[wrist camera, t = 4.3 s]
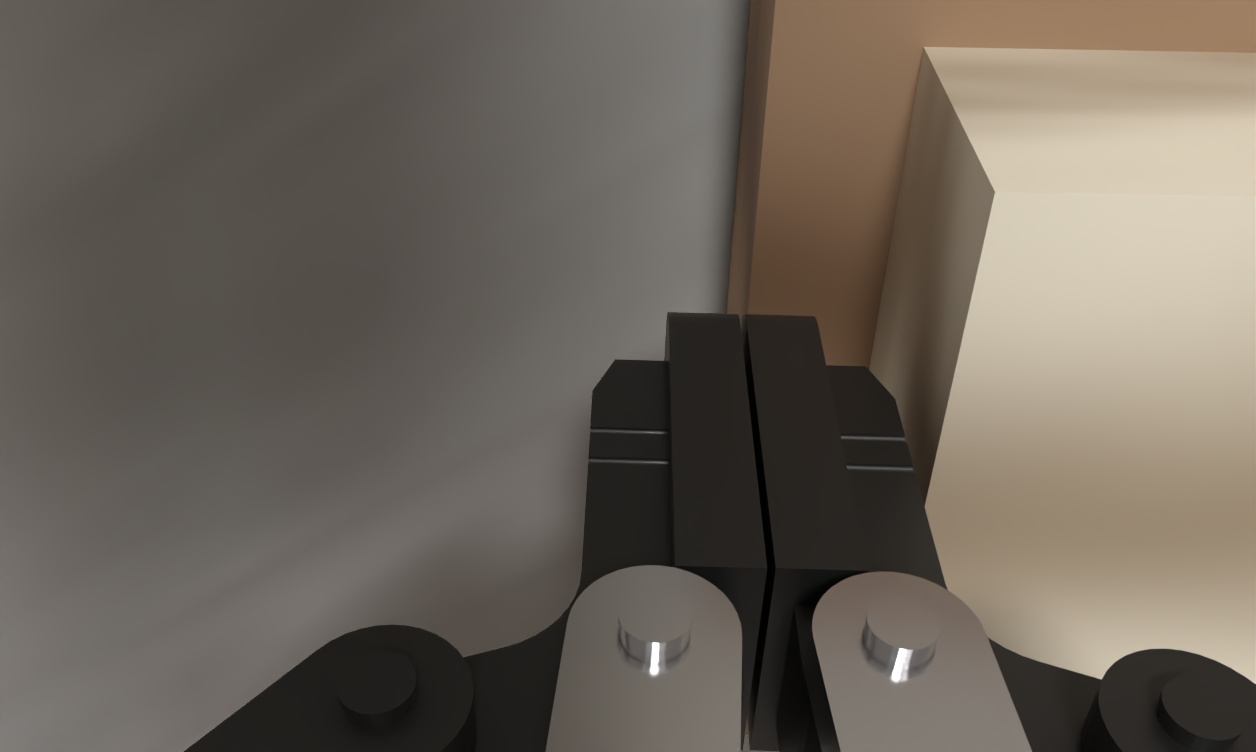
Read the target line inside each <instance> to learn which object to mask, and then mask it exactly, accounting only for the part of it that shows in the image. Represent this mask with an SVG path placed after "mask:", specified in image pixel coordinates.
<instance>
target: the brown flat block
mask: <svg viewBox="0 0 1256 752" xmlns="http://www.w3.org/2000/svg"><path fill="white" fill-rule="evenodd" d="M924 47H958V48H1014V49H1070V50H1125V51H1181V52H1237V53H1256V0H750V13H749V26H748V39H747V53H746V66H745V79H744V92H743V105H742V118H741V131H740V144H739V157H738V170H737V183H736V196H735V210H734V223H733V236H732V249H731V262H730V275H729V288H728V301H727V314H738V315H739V318H740V326H741V320H742V316H743V314H758V315H794V316H815V317H816V320H817V323H818V327H819V332H820V337H821V342H822V347H823V352H824V357H825V361H826V365H834V366H866V367H867V368H868V369H869V367H870V361H871V355H872V350H873V344H874V338H875V332H876V326H877V320H878V314H879V308H880V302H881V296H882V290H883V285H884V279H885V273H886V267H887V261H888V255H889V249H890V243H891V237H892V231H893V225H894V220H895V214H896V208H897V202H898V196H899V190H900V184H901V178H902V172H903V166H904V160H905V155H906V149H907V143H908V137H909V131H910V125H911V119H912V113H913V107H914V101H915V95H916V90H917V84H918V78H919V72H920V66H921V60H922V54H923V48H924ZM745 734H749V732H748V720H747V721H746V729H745Z"/></svg>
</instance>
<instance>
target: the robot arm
mask: <svg viewBox="0 0 1256 752" xmlns="http://www.w3.org/2000/svg"><path fill="white" fill-rule="evenodd" d="M747 720H748V732H749V744H750V750H763V751H779V752H1256V684H1255V683H1253V682H1252V681H1250V680H1249V679H1248V678H1246V677H1245V676H1243V675H1241V674H1240V673H1238V672H1236V671H1235V670H1233V669H1232V668H1230V667H1228V666H1226V665H1224V664H1222V663H1219V662H1217V661H1215V660H1213V659H1210V658H1207V657H1204V656H1202V655H1199V654H1195V653H1191V652H1187V651H1182V650H1174V649H1147V650H1141V651H1137V652H1134V653H1131V654H1128V655H1125V656H1124V657H1122V658H1121V659H1119V660H1117V661H1116V662H1115V663H1114V664H1113V665H1112V666H1111V667H1110V668H1109V669H1108V670H1107V671H1106V673H1105V675H1104V676H1103V678H1102V680H1101V679H1098V678H1095V677H1091V676H1088V675H1084V674H1081V673H1077V672H1074V671H1070V670H1067V669H1063V668H1060V667H1056V666H1053V665H1049V664H1046V663H1043V662H1039V661H1036V660H1033V659H1030V658H1027V657H1024V656H1022V655H1019V654H1017V653H1015V652H1013V651H1011V650H1009V649H1006V648H1005V647H1003V646H1001V645H1000V644H998V643H996V642H995V641H993V640H991V639H990V638H988V637H987V635H986V632H985V630H984V628H983V626H982V624H981V622H980V621H979V619H978V618H977V617H976V615H975V614H974V613H973V611H972V610H971V609H970V608H969V607H968V606H967V605H966V604H965V603H964V602H963V601H962V600H961V599H959V598H958V597H957V596H955V595H954V594H953V593H951V592H950V591H948V589H947V586H946V584H945V580H944V577H943V573H942V569H941V566H940V562H939V558H938V554H937V551H936V547H935V543H934V540H933V536H932V532H931V529H930V525H929V521H928V518H927V514H926V510H925V507H924V503H923V499H922V496H921V492H920V488H919V485H918V481H917V477H916V474H915V473H913V463H912V459H911V455H910V451H909V448H908V444H907V443H906V442H905V433H904V429H903V426H902V422H901V418H900V415H899V411H898V407H897V404H896V400H895V398H894V397H893V396H892V395H891V394H890V393H889V391H888V390H887V389H886V388H885V387H884V386H883V385H882V384H881V383H880V381H879V380H878V379H877V378H876V377H875V376H874V375H873V374H872V373H871V371H870V370H869V369H868V368H867V367H866V366H834V365H826V361H825V357H824V352H823V347H822V342H821V337H820V332H819V327H818V323H817V320H816V317H815V316H794V315H758V314H743V316H742V320H741V326H740V318H739V315H738V314H713V313H678V312H668V314H667V323H666V340H665V358H664V361H645V360H615V361H614V362H613V363H612V365H611V366H610V368H609V369H608V370H607V372H606V373H605V374H604V376H603V377H602V379H601V380H600V381H599V383H598V384H597V385H596V387H595V388H594V390H593V394H592V410H591V427H590V443H589V464H588V476H587V493H586V510H585V526H584V543H583V559H582V574H581V580H580V586H579V588H578V591H577V593H576V596H575V598H574V600H573V601H572V603H571V604H570V606H569V608H568V609H567V610H566V611H565V612H564V613H563V615H562V616H561V617H560V618H559V619H558V620H557V621H555V622H554V623H553V624H552V625H551V626H549V627H548V628H547V629H545V630H543V631H542V632H540V633H539V634H537V635H535V636H533V637H531V638H529V639H527V640H525V641H522V642H520V643H517V644H514V645H511V646H508V647H504V648H500V649H496V650H492V651H488V652H484V653H480V654H476V655H472V656H468V657H464V658H463V657H462V656H461V654H460V653H459V652H458V650H457V649H456V648H454V647H453V646H452V645H451V644H450V643H449V642H448V641H446V640H444V639H443V638H441V637H439V636H438V635H436V634H434V633H431V632H429V631H426V630H423V629H420V628H415V627H410V626H403V625H381V626H373V627H368V628H363V629H359V630H356V631H353V632H350V633H347V634H344V635H342V636H340V637H338V638H336V639H334V640H332V641H330V642H329V643H327V644H326V645H324V646H323V647H321V648H320V649H318V650H317V651H316V652H314V653H313V654H312V655H310V656H309V657H308V658H306V659H305V660H304V661H302V662H301V663H300V664H298V665H297V666H296V667H294V668H293V669H292V670H291V671H289V672H288V673H287V674H285V675H284V676H283V677H281V678H280V679H279V680H277V681H276V682H275V683H273V684H272V685H271V686H269V687H268V688H267V689H266V690H264V691H263V692H262V693H260V694H259V695H258V696H256V697H255V698H254V699H252V700H251V701H250V702H248V703H247V704H246V705H244V706H243V707H242V708H241V709H239V710H238V711H237V712H235V713H234V714H233V715H231V716H230V717H229V718H227V719H226V720H225V721H223V722H222V723H221V724H219V725H218V726H217V727H216V728H214V729H213V730H212V731H210V732H209V733H208V734H206V735H205V736H204V737H202V738H201V739H200V740H198V741H197V742H196V743H194V744H193V745H192V746H191V747H189V748H188V749H187V750H185V751H184V752H741V750H743V743H744V736H745V729H746V721H747Z"/></svg>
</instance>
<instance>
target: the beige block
mask: <svg viewBox="0 0 1256 752" xmlns="http://www.w3.org/2000/svg"><path fill="white" fill-rule="evenodd" d="M869 370H870V371H871V373H872V374H873V375H874V376H875V377H876V378H877V379H878V380H879V381H880V383H881V384H882V385H883V386H884V387H885V388H886V389H887V390H888V391H889V393H890V394H891V395H892V396H893V397H894V398H895V400H896V404H897V407H898V411H899V415H900V418H901V422H902V426H903V429H904V433H905V442H906V443H907V444H908V448H909V451H910V455H911V459H912V463H913V473H915V474H916V477H917V481H918V485H919V488H920V492H921V496H922V499H923V503H924V507H925V510H926V514H927V518H928V521H929V525H930V529H931V532H932V536H933V540H934V543H935V547H936V551H937V554H938V558H939V562H940V566H941V569H942V573H943V577H944V580H945V584H946V586H947V589H948V591H950V592H951V593H953V594H954V595H955V596H957V597H958V598H959V599H961V600H962V601H963V602H964V603H965V604H966V605H967V606H968V607H969V608H970V609H971V610H972V611H973V613H974V614H975V615H976V617H977V618H978V619H979V621H980V622H981V624H982V626H983V628H984V630H985V632H986V635H987V637H988V638H990V639H991V640H993V641H995V642H996V643H998V644H1000V645H1001V646H1003V647H1005V648H1006V649H1009V650H1011V651H1013V652H1015V653H1017V654H1019V655H1022V656H1024V657H1027V658H1030V659H1033V660H1036V661H1039V662H1043V663H1046V664H1049V665H1053V666H1056V667H1060V668H1063V669H1067V670H1070V671H1074V672H1077V673H1081V674H1084V675H1088V676H1091V677H1095V678H1098V679H1101V680H1102V678H1103V676H1104V675H1105V673H1106V671H1107V670H1108V669H1109V668H1110V667H1111V666H1112V665H1113V664H1114V663H1115V662H1116V661H1117V660H1119V659H1121V658H1122V657H1124V656H1125V655H1128V654H1131V653H1134V652H1137V651H1141V650H1147V649H1174V650H1182V651H1187V652H1191V653H1195V654H1199V655H1202V656H1204V657H1207V658H1210V659H1213V660H1215V661H1217V662H1219V663H1222V664H1224V665H1226V666H1228V667H1230V668H1232V669H1233V670H1235V671H1236V672H1238V673H1240V674H1241V675H1243V676H1245V677H1246V678H1248V679H1249V680H1250V681H1252V682H1253V683H1255V684H1256V53H1237V52H1181V51H1125V50H1070V49H1014V48H958V47H924V48H923V54H922V60H921V66H920V72H919V78H918V84H917V90H916V95H915V101H914V107H913V113H912V119H911V125H910V131H909V137H908V143H907V149H906V155H905V160H904V166H903V172H902V178H901V184H900V190H899V196H898V202H897V208H896V214H895V220H894V225H893V231H892V237H891V243H890V249H889V255H888V261H887V267H886V273H885V279H884V285H883V290H882V296H881V302H880V308H879V314H878V320H877V326H876V332H875V338H874V344H873V350H872V355H871V361H870V367H869Z"/></svg>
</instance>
